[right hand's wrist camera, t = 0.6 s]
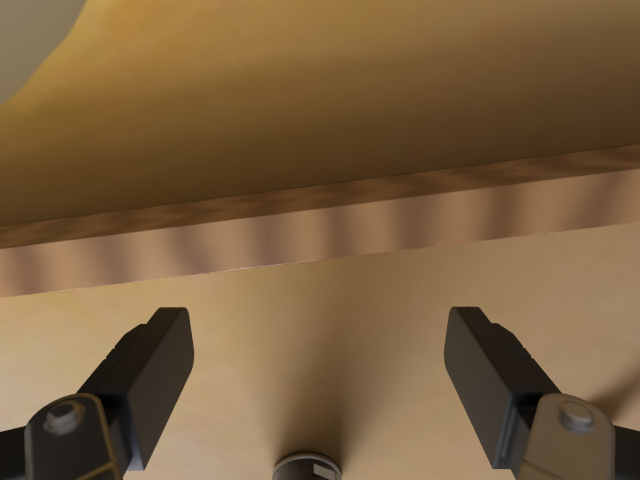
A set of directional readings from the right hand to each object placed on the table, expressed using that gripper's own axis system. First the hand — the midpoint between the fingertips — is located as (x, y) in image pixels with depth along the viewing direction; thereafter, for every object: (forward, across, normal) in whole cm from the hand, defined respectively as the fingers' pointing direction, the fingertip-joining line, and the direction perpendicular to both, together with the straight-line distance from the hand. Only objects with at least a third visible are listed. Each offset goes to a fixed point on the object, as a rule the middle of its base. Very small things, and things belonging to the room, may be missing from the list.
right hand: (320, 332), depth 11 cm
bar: (+27, -4, -4) cm, 28 cm away
